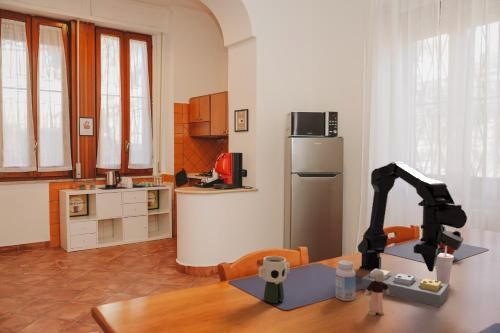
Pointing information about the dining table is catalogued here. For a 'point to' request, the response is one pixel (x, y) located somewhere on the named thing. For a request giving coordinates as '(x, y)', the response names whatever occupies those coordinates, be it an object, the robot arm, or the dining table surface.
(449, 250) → the apple
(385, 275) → the button one
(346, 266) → the pill bottle
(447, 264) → the smoothie
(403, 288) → the button panel
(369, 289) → the grandmother figurine
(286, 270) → the character mug
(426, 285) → the button three
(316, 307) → the dining table surface
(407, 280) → the button two
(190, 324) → the dining table surface
